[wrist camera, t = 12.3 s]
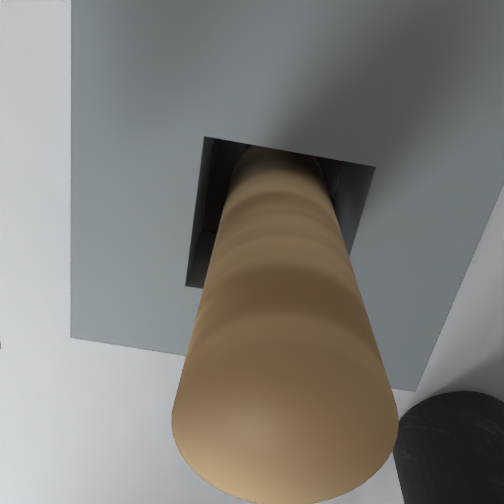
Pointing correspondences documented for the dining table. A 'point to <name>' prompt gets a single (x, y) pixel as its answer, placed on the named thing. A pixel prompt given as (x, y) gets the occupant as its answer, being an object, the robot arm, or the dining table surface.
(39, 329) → the dining table surface
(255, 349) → the oak peg
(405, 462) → the travel mug
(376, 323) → the socket board
